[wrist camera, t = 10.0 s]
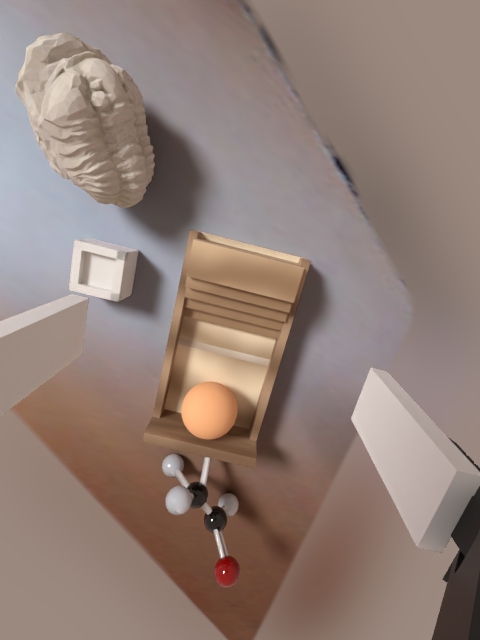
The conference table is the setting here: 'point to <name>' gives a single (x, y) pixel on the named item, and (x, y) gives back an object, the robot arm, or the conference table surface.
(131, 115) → the fossil replica
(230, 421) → the ball
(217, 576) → the molecular model
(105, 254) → the white open box
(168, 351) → the wooden stepped tray
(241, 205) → the conference table surface
